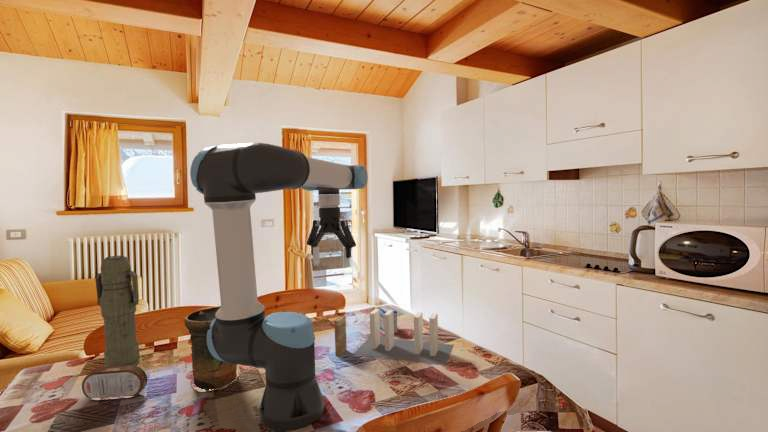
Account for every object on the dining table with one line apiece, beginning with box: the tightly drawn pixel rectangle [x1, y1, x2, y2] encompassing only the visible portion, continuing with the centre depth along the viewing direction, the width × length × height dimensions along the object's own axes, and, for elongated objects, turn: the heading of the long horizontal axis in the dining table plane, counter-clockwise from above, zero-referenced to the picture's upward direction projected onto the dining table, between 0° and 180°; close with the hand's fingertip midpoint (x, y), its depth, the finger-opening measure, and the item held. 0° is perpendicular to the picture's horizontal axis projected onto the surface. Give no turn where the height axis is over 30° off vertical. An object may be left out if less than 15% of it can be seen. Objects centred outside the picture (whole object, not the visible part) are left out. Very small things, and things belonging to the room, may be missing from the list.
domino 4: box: [428, 313, 439, 356], centre depth 126 cm, size 2×5×12 cm, turn 161°
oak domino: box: [334, 315, 348, 357], centre depth 128 cm, size 2×5×12 cm, turn 161°
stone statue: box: [95, 255, 141, 367], centre depth 121 cm, size 9×12×35 cm
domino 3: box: [413, 311, 424, 354], centre depth 128 cm, size 2×5×12 cm, turn 161°
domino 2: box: [383, 310, 395, 351], centre depth 131 cm, size 2×5×12 cm, turn 161°
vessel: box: [183, 305, 240, 391], centre depth 113 cm, size 14×14×20 cm
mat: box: [352, 336, 455, 366], centre depth 130 cm, size 16×30×1 cm, turn 71°
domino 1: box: [369, 308, 381, 349], centre depth 133 cm, size 2×5×12 cm, turn 161°
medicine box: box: [377, 305, 398, 334], centre depth 149 cm, size 8×4×9 cm, turn 25°
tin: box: [81, 365, 148, 400], centre depth 104 cm, size 15×3×8 cm, turn 98°
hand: (331, 265), depth 143 cm, fingers open, 13 cm apart
